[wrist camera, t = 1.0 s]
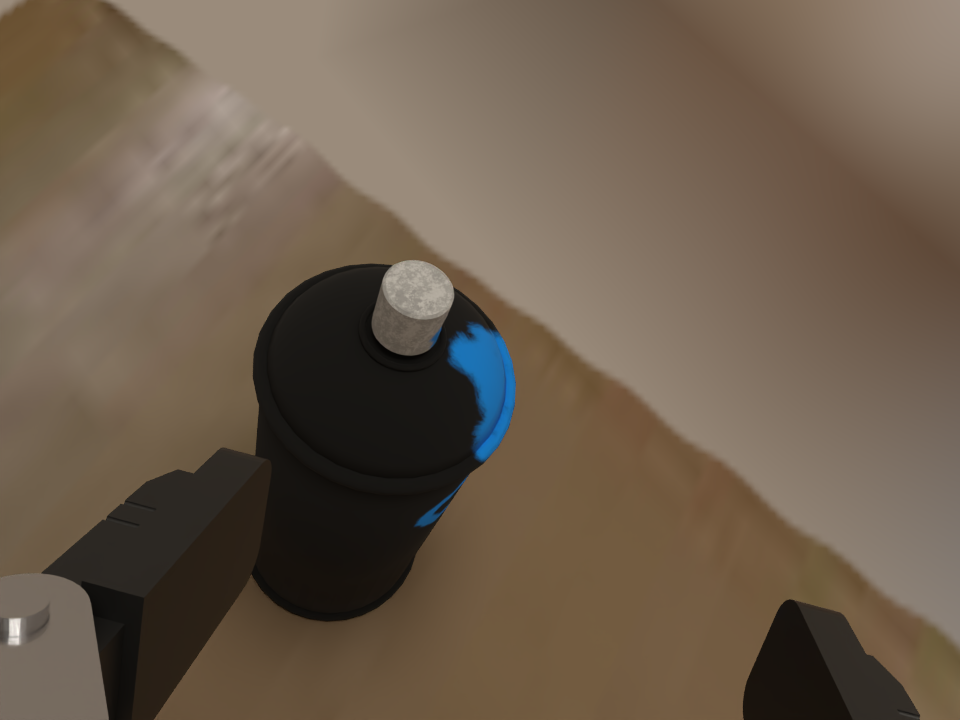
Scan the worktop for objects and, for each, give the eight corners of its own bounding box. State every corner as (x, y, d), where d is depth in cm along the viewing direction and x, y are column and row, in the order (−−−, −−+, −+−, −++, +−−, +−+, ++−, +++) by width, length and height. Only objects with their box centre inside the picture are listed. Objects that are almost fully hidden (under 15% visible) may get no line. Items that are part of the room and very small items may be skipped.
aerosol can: (231, 619, 33) (235, 408, 17) (255, 448, 37) (277, 149, 21) (415, 625, 35) (578, 442, 19) (418, 462, 39) (552, 200, 23)
